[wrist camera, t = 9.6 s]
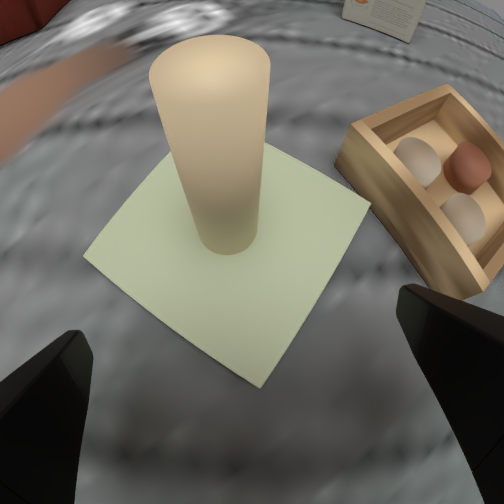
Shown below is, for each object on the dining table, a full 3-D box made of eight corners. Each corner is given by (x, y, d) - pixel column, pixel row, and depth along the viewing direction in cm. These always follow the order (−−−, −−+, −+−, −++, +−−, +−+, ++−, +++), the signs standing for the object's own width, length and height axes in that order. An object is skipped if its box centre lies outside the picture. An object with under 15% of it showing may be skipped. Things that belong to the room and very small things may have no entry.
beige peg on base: (363, 214, 18) (459, 68, 7) (259, 386, 15) (289, 443, 4) (209, 128, 20) (190, -27, 9) (93, 263, 17) (-40, 150, 6)
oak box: (512, 221, 18) (544, 198, 14) (442, 307, 16) (483, 291, 12) (427, 116, 21) (447, 83, 17) (333, 165, 19) (350, 123, 15)
